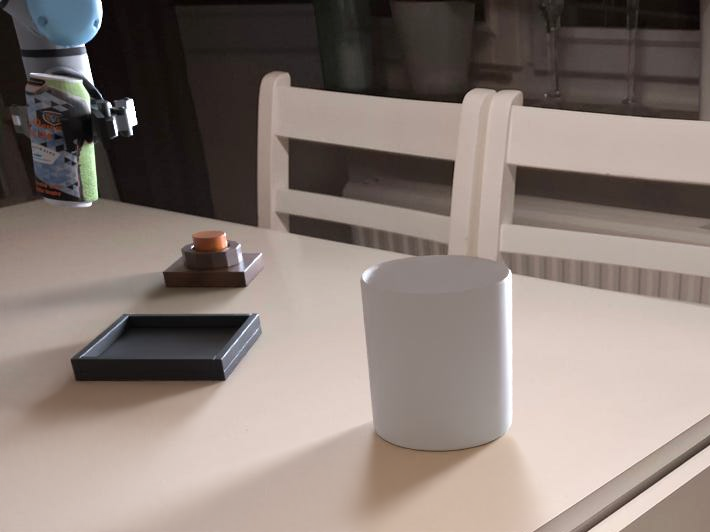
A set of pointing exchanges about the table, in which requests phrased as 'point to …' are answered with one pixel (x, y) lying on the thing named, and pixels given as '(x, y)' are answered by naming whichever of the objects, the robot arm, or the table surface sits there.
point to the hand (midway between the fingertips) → (86, 134)
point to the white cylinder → (439, 350)
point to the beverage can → (61, 140)
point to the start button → (209, 241)
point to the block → (213, 267)
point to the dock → (168, 347)
